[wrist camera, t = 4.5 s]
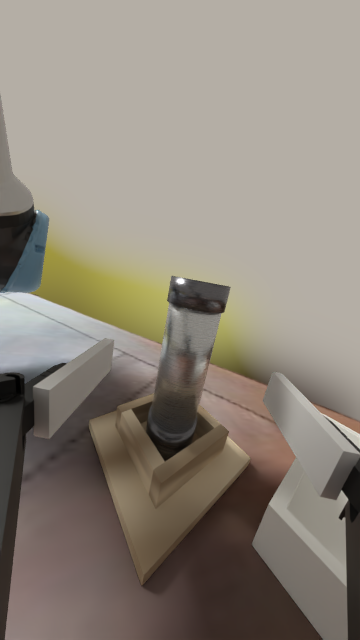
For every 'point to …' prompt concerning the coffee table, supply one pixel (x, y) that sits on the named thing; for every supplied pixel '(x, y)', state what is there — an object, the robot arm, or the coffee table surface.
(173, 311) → the capped clear cylinder
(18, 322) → the coffee table surface
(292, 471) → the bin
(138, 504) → the socket block
